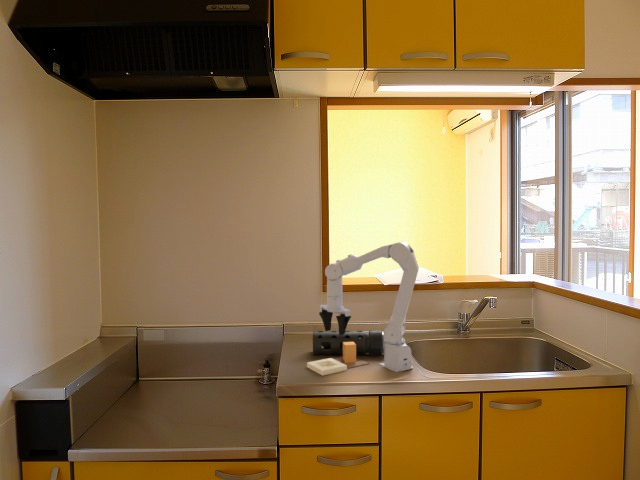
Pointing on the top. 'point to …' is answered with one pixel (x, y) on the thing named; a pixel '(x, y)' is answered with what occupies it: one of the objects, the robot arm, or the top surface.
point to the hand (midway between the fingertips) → (334, 332)
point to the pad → (351, 365)
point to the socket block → (326, 366)
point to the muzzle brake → (334, 342)
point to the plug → (349, 352)
